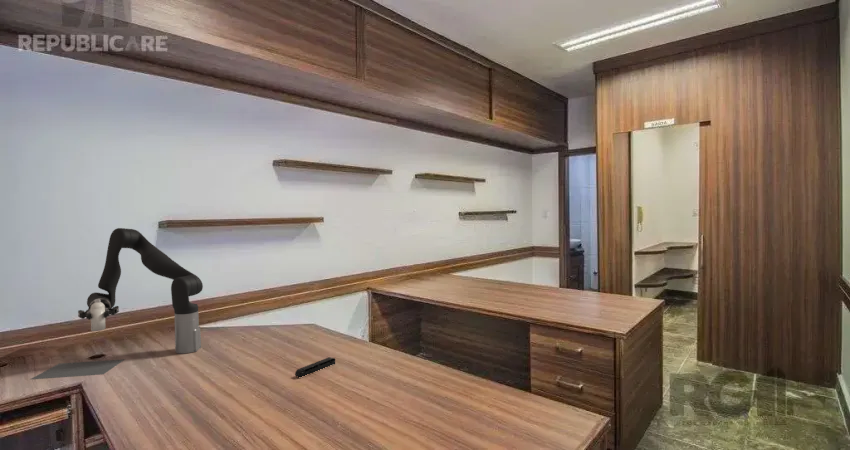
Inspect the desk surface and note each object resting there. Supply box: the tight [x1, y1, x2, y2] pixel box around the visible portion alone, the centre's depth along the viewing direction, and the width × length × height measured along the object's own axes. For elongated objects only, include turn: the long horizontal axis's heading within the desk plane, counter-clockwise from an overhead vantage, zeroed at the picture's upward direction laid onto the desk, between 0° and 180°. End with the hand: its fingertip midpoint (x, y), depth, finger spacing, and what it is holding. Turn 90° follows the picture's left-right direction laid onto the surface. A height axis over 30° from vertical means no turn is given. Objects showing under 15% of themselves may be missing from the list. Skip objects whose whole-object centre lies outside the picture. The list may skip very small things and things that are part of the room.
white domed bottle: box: [90, 299, 107, 332], centre depth 168 cm, size 5×5×12 cm
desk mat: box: [29, 358, 126, 380], centre depth 162 cm, size 24×16×1 cm, turn 101°
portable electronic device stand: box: [294, 356, 336, 378], centre depth 161 cm, size 18×3×3 cm, turn 145°
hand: (97, 316), depth 166 cm, fingers closed on white domed bottle, 4 cm apart
